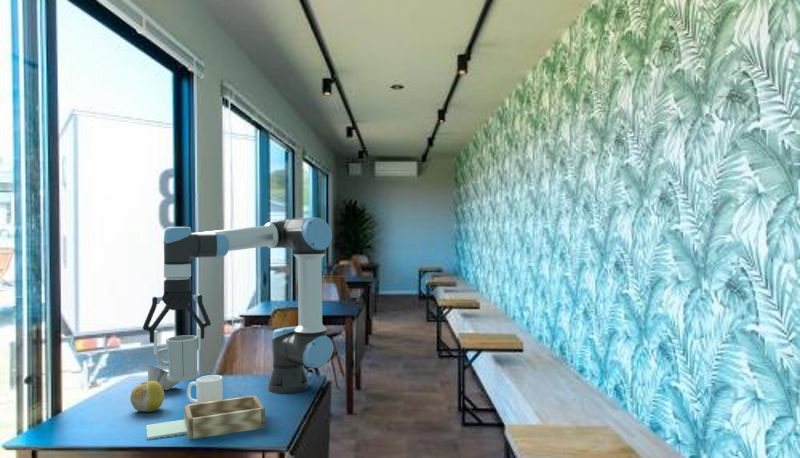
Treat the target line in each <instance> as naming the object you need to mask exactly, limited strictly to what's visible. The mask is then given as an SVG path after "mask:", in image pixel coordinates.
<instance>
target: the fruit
mask: <svg viewBox="0 0 800 458" xmlns="http://www.w3.org/2000/svg"><path fill="white" fill-rule="evenodd" d="M164 399H165V391H164V389H163V388H162V386H161V385H160V383H158V382H156V381H148V380H146V381H144V382H140V383H139V384H138V385H136V386H135V387H134V388H133V389H132V390H131V393H130V403H131V405H132V408H134V410H136V411H138V412H147V413H152V412H155V411H157V410H159V409H160V408H161V406H162V404H163V402H164Z"/></svg>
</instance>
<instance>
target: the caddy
mask: <svg viewBox="0 0 800 458" xmlns="http://www.w3.org/2000/svg"><path fill="white" fill-rule="evenodd" d="M183 407H184V411H183V412H184V419H185V424H186V429H187V434H186V435H187V439H188V440H195V439H200V438H201V439H202V438H207V437H214V436H221V435H228V434H229V435H230V434H234V433H241V432H247V431H253V430H260V429H265V428H266V408H265V407H264V405H263V404H262V403H261V401H260V399H259V398H258V397H257V396H256V395H254V394H253V395H247V396H240V397H234V398H227V399H226V398H225V399H223V400H217V401H210V402H203V403H188V404H184V405H183Z"/></svg>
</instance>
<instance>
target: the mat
mask: <svg viewBox="0 0 800 458" xmlns="http://www.w3.org/2000/svg"><path fill="white" fill-rule="evenodd" d="M145 428H146V430H147V431H146V441H149V439H150V440H156V439H155V438H157V439H161V438H160V437H164V438H167V437H166V436H170V437H175V435H177V436H182V435H183V434H184V435H187V429H186V424H185V418H184V419H179V420H178V419H177V420H172V421H165V422H159V423H158V422H157V423H151V424H146V427H145Z"/></svg>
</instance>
